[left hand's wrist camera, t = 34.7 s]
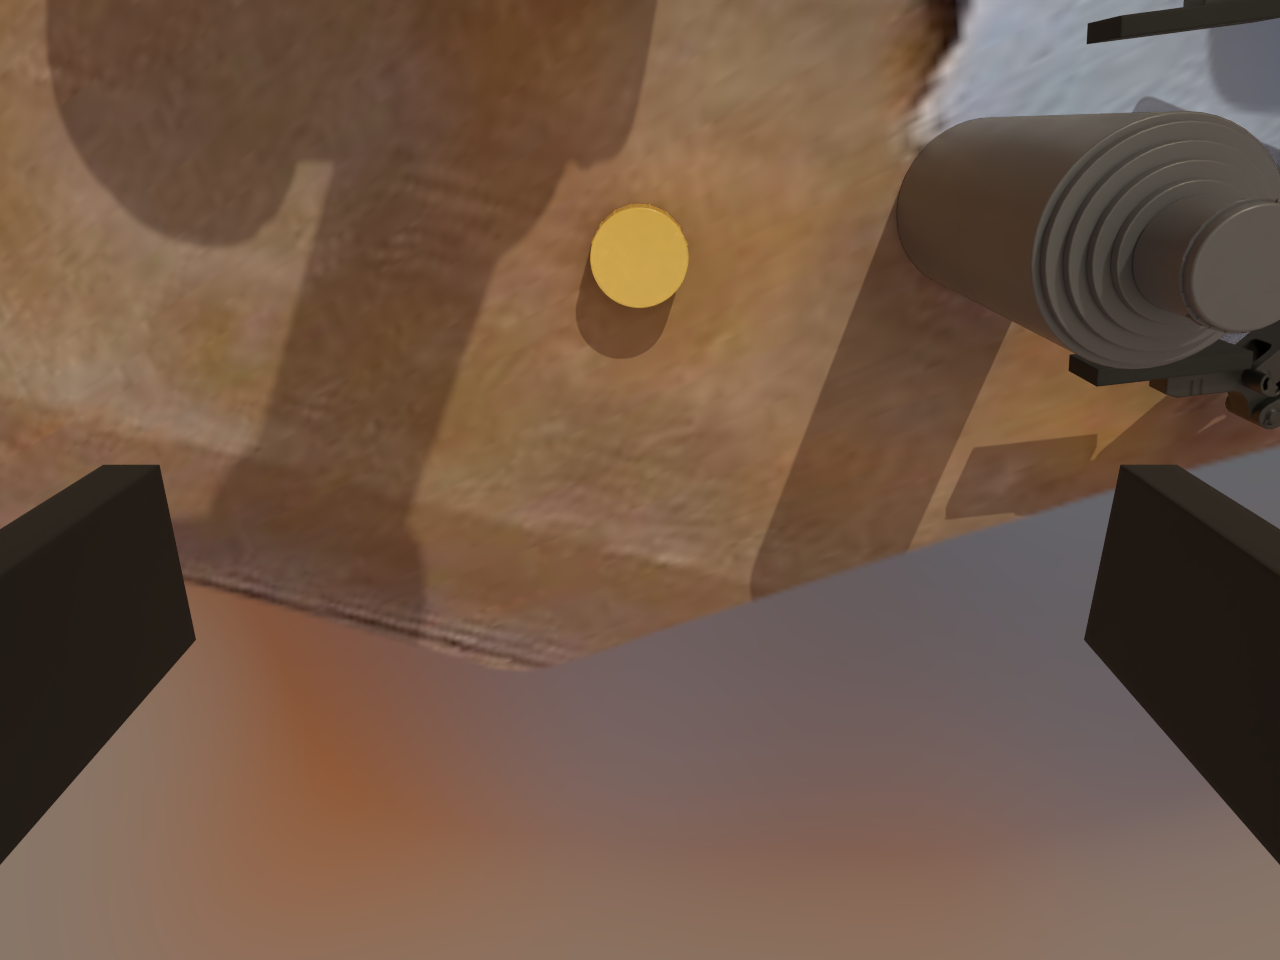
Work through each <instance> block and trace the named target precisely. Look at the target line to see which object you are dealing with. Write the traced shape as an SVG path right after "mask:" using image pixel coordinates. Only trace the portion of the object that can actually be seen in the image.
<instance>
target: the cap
mask: <svg viewBox="0 0 1280 960" xmlns="http://www.w3.org/2000/svg"><path fill="white" fill-rule="evenodd" d="M680 228H681V227H680V225H679V223H678V224H677V223H676V221H675V220H674V219H673V218H672V217H671V216H670V215H669V214H668V213H667V211H666V210H665V211H663V210H662V209H660V208H657V207H655V206H652V205H650V204H632V203H631V204H630V205H627V206H624V207H621V208H619V209H617V210H614V211H613V212H612V213H611V214H610V215H609V216H607V218H606V219H605V220H604V221H603V222H602V221H601V223H600V225H599V228H598V230H597V232H596V235H595V237H593V239H592V242H591V243H592V246H591V252H590V260H589V261H590V264H591V270H592V273H593V276H594V279H595V281H596V282H597V284H598V286H599V287H600V288H601V290H602V291H603V292H604V293H605V294H606V295H607V296H608V297H609V298H611V299H612V300H613V301H615V302H617V303H619V304H621V305H624V306H628V307H633V308H646V307H651V306H655V305H657V304H660V303H662V302H663V301H665V300H667V299H668V298H669V297H671V296H672V295H673V294H674V293H675V292H676V291H677V289H678V288H679V287H680V285H681V284H682V282H683V281H684V278H685V275H686V272H687V268H688V264H689V261H688V248H687V246H688V243H687V241H686V240H685V238H684V236H683V233H682V231H681V229H680Z"/></svg>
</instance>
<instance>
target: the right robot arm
mask: <svg viewBox="0 0 1280 960" xmlns="http://www.w3.org/2000/svg"><path fill="white" fill-rule="evenodd" d="M1275 18H1280V0H1184V7H1183V8H1175V9H1168V10H1160V11H1152V12H1145V13H1137V14H1130V15H1122V16H1118V17H1113V18H1109V19H1105V20H1101V21H1097V22H1092V23H1088V30H1087V44H1092V43H1099V42H1107V41H1115V40H1122V39H1130V38H1138V37H1145V36H1153V35H1161V34H1168V33H1176V32H1183V31H1191V30H1199V29H1206V28H1214V27H1222V26H1229V25H1237V24H1244V23H1252V22H1258V21H1263V20H1269V19H1275ZM1069 371H1070V372H1072V373H1074V374H1075V375H1077V376H1079V377H1081V378H1083V379H1084V380H1086V381H1088V382H1090V383H1091V384H1093V385H1095V386H1105V385H1114V384H1123V383H1132V382H1140V381H1149V380H1150V382H1149V386H1150V387H1152V388H1154V389H1156V390H1158V391H1160V392H1162V393H1164V394H1166V395H1170V396H1174V397H1186V396H1195V395H1204V394H1212V393H1221V392H1228V395H1229V396H1228V397H1227V399H1226V403H1225V404H1226V408H1227V409H1228V411H1230V412H1232V413H1234V414H1236V415H1238V416H1240V417H1242V418H1244V419H1246V420H1248V421H1250V422H1252V423H1254V424H1257V425H1259V426H1261V427H1263V428H1265V429H1274V428H1277V427H1279V426H1280V320H1278V321H1277V322H1275V323H1273V324H1271V325H1268V326H1266V327H1264V328H1262V329H1257V330H1253V331H1251V332H1250V333H1248V334H1247V335H1246V336H1245V337H1244V338H1243V339H1241V340H1240V341H1239V342H1238V343H1237V344H1235V345H1234V344H1231V343H1228V342H1225V341H1223V340H1220V339H1218V340H1217V341H1215V342H1214V343H1213V344H1211V345H1209V346H1208V347H1206V348H1204V349H1203V350H1201V351H1199V352H1197V353H1195V354H1193V355H1191V356H1188V357H1186V358H1184V359H1182V360H1179V361H1176V362H1172V363H1169V364H1166V365H1162V366H1156V367H1151V368H1141V369H1122V368H1114V367H1109V366H1103V365H1100V364H1097V363H1094V362H1092V361H1089V360H1087V359H1085V358H1083V357H1081V356H1079V355H1077V354H1072V355H1070V358H1069Z"/></svg>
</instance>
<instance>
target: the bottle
mask: <svg viewBox="0 0 1280 960" xmlns="http://www.w3.org/2000/svg"><path fill="white" fill-rule="evenodd" d="M897 224H898V231H899V236H900V240H901V242H902V245H903V247H904V250H905V251H906V253H907V255H908V257H909V258H910V260H911V261H912V262H913V264H914V265H915V266H916V267H917V268H918V269H919V270H920V271H921V272H922V273H923V274H925V275H926V276H927V277H929V278H930V279H932V280H934V281H936V282H938V283H939V284H941V285H943V286H945V287H947V288H949V289H951V290H953V291H955V292H957V293H959V294H961V295H963V296H965V297H967V298H969V299H970V300H972V301H974V302H976V303H978V304H980V305H982V306H984V307H986V308H988V309H990V310H992V311H994V312H996V313H998V314H1000V315H1002V316H1003V317H1005V318H1007V319H1009V320H1011V321H1013V322H1015V323H1017V324H1019V325H1021V326H1023V327H1025V328H1027V329H1029V330H1031V331H1033V332H1034V333H1036V334H1038V335H1040V336H1042V337H1044V338H1046V339H1048V340H1050V341H1052V342H1054V343H1056V344H1058V345H1060V346H1062V347H1064V348H1065V349H1067V350H1069V351H1071V352H1073V353H1075V354H1077V355H1079V356H1081V357H1083V358H1085V359H1087V360H1089V361H1092V362H1094V363H1097V364H1100V365H1103V366H1109V367H1114V368H1122V369H1141V368H1151V367H1156V366H1162V365H1166V364H1169V363H1172V362H1176V361H1179V360H1182V359H1184V358H1186V357H1188V356H1191V355H1193V354H1195V353H1197V352H1199V351H1201V350H1203V349H1204V348H1206V347H1208V346H1209V345H1211V344H1213V343H1214V342H1215V341H1217V340H1218V339H1220V338H1221V337H1222V336H1224V335H1225V334H1227V333H1246V332H1250V331H1253V330H1257V329H1262V328H1264V327H1266V326H1268V325H1271V324H1273V323H1275V322H1277V321H1278V320H1280V173H1279V171H1278V168H1277V166H1276V164H1275V162H1274V161H1273V159H1272V157H1271V156H1270V154H1269V152H1268V151H1267V150H1266V149H1265V147H1264V146H1263V145H1262V144H1261V143H1260V142H1259V140H1258V139H1256V138H1255V137H1254V136H1253V135H1252V134H1251V133H1249V132H1248V131H1247V130H1246V129H1244V128H1242V127H1241V126H1239V125H1237V124H1236V123H1234V122H1232V121H1230V120H1227V119H1224V118H1222V117H1219V116H1216V115H1212V114H1207V113H1202V112H1190V111H1172V112H1141V113H1111V114H1080V115H1050V116H1019V117H990V118H979V119H974V120H969V121H966V122H963V123H961V124H958V125H956V126H954V127H952V128H950V129H948V130H946V131H945V132H943V133H942V134H940V135H939V136H937V137H936V138H935V139H934V140H932V141H931V142H930V143H929V144H928V145H927V146H926V147H925V148H924V149H923V150H922V151H921V152H920V154H919V155H918V156H917V158H916V159H915V160H914V162H913V163H912V165H911V167H910V169H909V170H908V172H907V174H906V176H905V179H904V181H903V184H902V187H901V190H900V194H899V199H898V205H897Z"/></svg>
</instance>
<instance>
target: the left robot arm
mask: <svg viewBox="0 0 1280 960" xmlns="http://www.w3.org/2000/svg"><path fill="white" fill-rule="evenodd" d="M195 640H196V638H195V634H194V629H193V624H192V619H191V614H190V609H189V605H188V600H187V595H186V590H185V585H184V581H183V576H182V571H181V566H180V561H179V557H178V552H177V547H176V542H175V537H174V533H173V528H172V523H171V518H170V513H169V509H168V504H167V499H166V494H165V489H164V485H163V480H162V475H161V470H160V465H102V466H101V467H99V468H97V469H96V470H94V471H93V472H91V473H89V474H88V475H86V476H85V477H83V478H81V479H80V480H78V481H77V482H75V483H73V484H72V485H70V486H69V487H67V488H65V489H64V490H62V491H61V492H59V493H57V494H56V495H54V496H53V497H51V498H50V499H48V500H46V501H45V502H43V503H42V504H40V505H38V506H37V507H35V508H34V509H32V510H30V511H29V512H27V513H26V514H24V515H22V516H21V517H19V518H18V519H16V520H14V521H13V522H11V523H10V524H8V525H6V526H5V527H3V528H2V529H0V864H1V863H2V862H3V861H4V860H5V858H6V857H7V856H8V855H9V854H10V853H11V852H12V851H13V849H14V848H15V847H16V846H17V845H18V844H19V842H20V841H21V840H22V839H23V838H24V837H25V836H26V834H27V833H28V832H29V831H30V830H31V829H32V828H33V826H34V825H35V824H36V823H37V822H38V821H39V819H40V818H41V817H42V816H43V815H44V814H45V813H46V811H47V810H48V809H49V808H50V807H51V806H52V805H53V803H54V802H55V801H56V800H57V799H58V798H59V796H60V795H61V794H62V793H63V792H64V791H65V790H66V788H67V787H68V786H69V785H70V784H71V783H72V782H73V780H74V779H75V778H76V777H77V776H78V775H79V773H80V772H81V771H82V770H83V769H84V768H85V767H86V765H87V764H88V763H89V762H90V761H91V760H92V759H93V757H94V756H95V755H96V754H97V753H98V752H99V751H100V749H101V748H102V747H103V746H104V745H105V744H106V742H107V741H108V740H109V739H110V738H111V737H112V736H113V734H114V733H115V732H116V731H117V730H118V729H119V727H120V726H121V725H122V724H123V723H124V722H125V721H126V719H127V718H128V717H129V716H130V715H131V714H132V713H133V711H134V710H135V709H136V708H137V707H138V706H139V705H140V703H141V702H142V701H143V700H144V699H145V698H146V696H147V695H148V694H149V693H150V692H151V691H152V690H153V688H154V687H155V686H156V685H157V684H158V683H159V682H160V680H161V679H162V678H163V677H164V676H165V675H166V674H167V672H168V671H169V670H170V669H171V668H172V667H173V665H174V664H175V663H176V662H177V661H178V660H179V659H180V657H181V656H182V655H183V654H184V653H185V652H186V651H187V649H188V648H189V647H190V646H191V645H192V644H193V642H194V641H195ZM1084 640H1085V641H1086V642H1087V644H1088V645H1089V646H1090V647H1091V648H1092V649H1093V651H1094V652H1095V653H1096V654H1097V655H1098V656H1099V657H1100V659H1101V660H1102V661H1103V662H1104V663H1105V664H1106V665H1107V667H1108V668H1109V669H1110V670H1111V671H1112V672H1113V673H1114V675H1115V676H1116V677H1117V678H1118V679H1119V680H1120V682H1121V683H1122V684H1123V685H1124V686H1125V687H1126V688H1127V690H1128V691H1129V692H1130V693H1131V694H1132V695H1133V696H1134V698H1135V699H1136V700H1137V701H1138V702H1139V703H1140V705H1141V706H1142V707H1143V708H1144V709H1145V710H1146V711H1147V713H1148V714H1149V715H1150V716H1151V717H1152V718H1153V719H1154V721H1155V722H1156V723H1157V724H1158V725H1159V726H1160V728H1161V729H1162V730H1163V731H1164V732H1165V733H1166V734H1167V736H1168V737H1169V738H1170V739H1171V740H1172V741H1173V742H1174V744H1175V745H1176V746H1177V747H1178V748H1179V749H1180V751H1181V752H1182V753H1183V754H1184V755H1185V756H1186V757H1187V759H1188V760H1189V761H1190V762H1191V763H1192V764H1193V765H1194V767H1195V768H1196V769H1197V770H1198V771H1199V772H1200V774H1201V775H1202V776H1203V777H1204V778H1205V779H1206V780H1207V782H1208V783H1209V784H1210V785H1211V786H1212V787H1213V788H1214V790H1215V791H1216V792H1217V793H1218V794H1219V795H1220V797H1221V798H1222V799H1223V800H1224V801H1225V802H1226V803H1227V805H1228V806H1229V807H1230V808H1231V809H1232V810H1233V811H1234V813H1235V814H1236V815H1237V816H1238V817H1239V818H1240V820H1241V821H1242V822H1243V823H1244V824H1245V825H1246V826H1247V827H1248V829H1249V830H1250V831H1251V832H1252V833H1253V834H1254V836H1255V837H1256V838H1257V839H1258V840H1259V841H1260V842H1261V844H1262V845H1263V846H1264V847H1265V848H1266V849H1267V851H1268V852H1269V853H1270V854H1271V855H1272V856H1273V857H1274V859H1275V860H1276V861H1277V862H1278V863H1279V864H1280V529H1278V528H1277V527H1275V526H1274V525H1272V524H1270V523H1269V522H1267V521H1266V520H1264V519H1262V518H1261V517H1259V516H1258V515H1256V514H1254V513H1253V512H1251V511H1250V510H1248V509H1246V508H1245V507H1243V506H1242V505H1240V504H1238V503H1237V502H1235V501H1234V500H1232V499H1230V498H1229V497H1227V496H1226V495H1224V494H1222V493H1221V492H1219V491H1218V490H1216V489H1215V488H1213V487H1211V486H1210V485H1208V484H1206V483H1205V482H1203V481H1202V480H1200V479H1199V478H1197V477H1195V476H1194V475H1192V474H1191V473H1189V472H1187V471H1186V470H1184V469H1183V468H1181V467H1179V466H1178V465H1120V470H1119V475H1118V480H1117V485H1116V489H1115V494H1114V499H1113V504H1112V509H1111V513H1110V518H1109V523H1108V528H1107V533H1106V537H1105V542H1104V547H1103V552H1102V557H1101V561H1100V566H1099V571H1098V576H1097V581H1096V585H1095V590H1094V595H1093V600H1092V605H1091V609H1090V614H1089V619H1088V624H1087V628H1086V633H1085V638H1084Z"/></svg>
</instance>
